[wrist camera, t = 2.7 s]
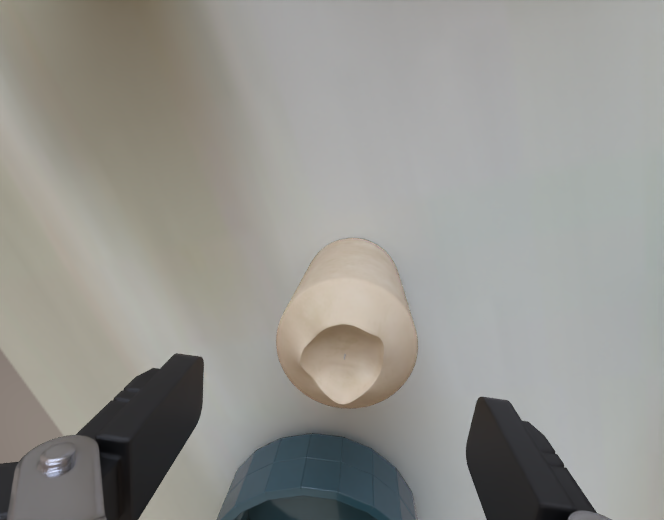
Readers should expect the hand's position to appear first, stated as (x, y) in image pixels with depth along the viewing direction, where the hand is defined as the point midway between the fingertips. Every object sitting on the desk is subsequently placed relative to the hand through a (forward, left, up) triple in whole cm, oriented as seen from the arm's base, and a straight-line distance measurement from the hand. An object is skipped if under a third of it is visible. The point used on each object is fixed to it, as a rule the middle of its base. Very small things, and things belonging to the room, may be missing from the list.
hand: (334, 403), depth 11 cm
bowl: (+6, +16, -12) cm, 21 cm away
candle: (0, 0, -13) cm, 13 cm away
